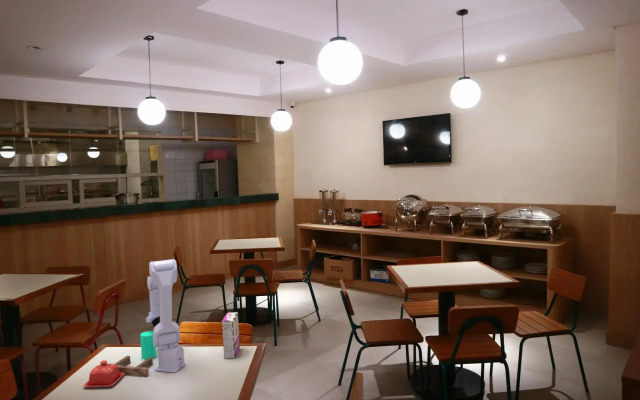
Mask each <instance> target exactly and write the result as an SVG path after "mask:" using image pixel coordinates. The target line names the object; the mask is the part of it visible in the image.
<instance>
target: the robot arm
mask: <svg viewBox="0 0 640 400" xmlns="http://www.w3.org/2000/svg"><path fill="white" fill-rule="evenodd" d="M148 269H149V272H148V273H149V276H147V280H146V281H147V283H146V284H147V288H148V293H149V306H150V311H149V312H148V316H147V317H146V318H145V322H146V323H147V324H149V323H151V324H152V326H153V329H152V331H153V342H154V346H155V347H156V349H157V356H158V366H157V367H156V368H154V371H155V372H168V373H176V372H178V371H179V370H180V369H182V367H184V366H185V365H186V362H185V352H184V347H182V346H180V345H179V343H180V342H181V332H180V326H179V324H178V323H177V322H175V321H173V297H172V295H173V294H172V293H173V285H174V284H175V283H176V282H178V281H177V279H178V264H177V260H175V258H172V259H163V260H157V261H150V262H149V265H148Z"/></svg>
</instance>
